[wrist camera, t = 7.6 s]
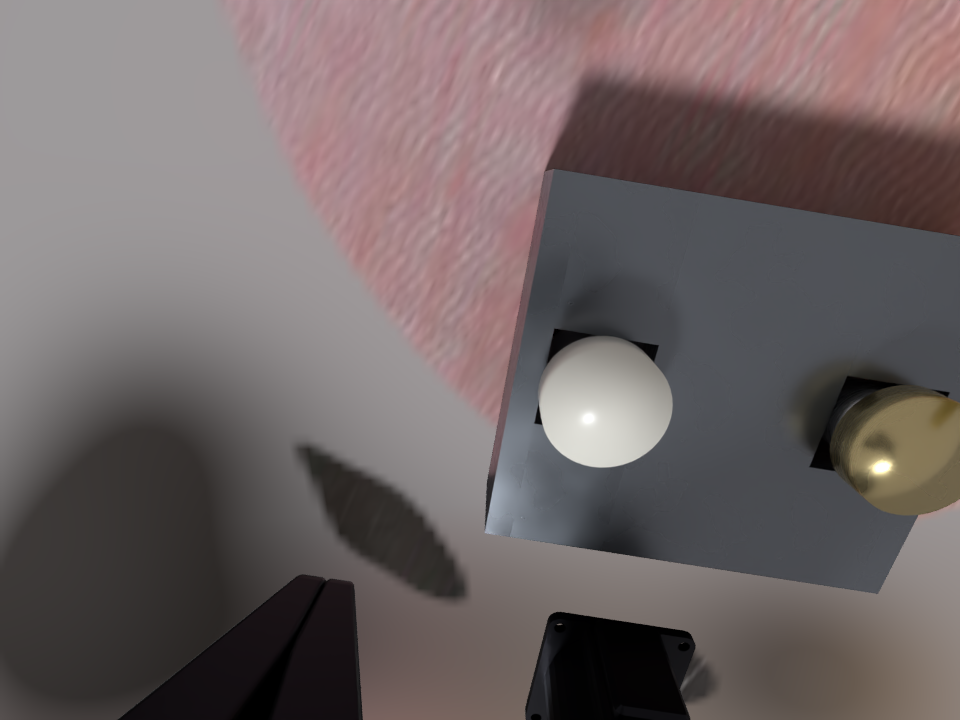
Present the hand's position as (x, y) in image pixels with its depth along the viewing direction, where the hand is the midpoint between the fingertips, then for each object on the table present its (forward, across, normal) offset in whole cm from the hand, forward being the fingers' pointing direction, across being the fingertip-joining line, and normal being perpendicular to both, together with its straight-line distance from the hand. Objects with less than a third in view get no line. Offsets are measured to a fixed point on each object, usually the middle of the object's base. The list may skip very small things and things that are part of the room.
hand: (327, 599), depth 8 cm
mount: (+12, -10, -1) cm, 16 cm away
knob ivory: (+12, -6, -1) cm, 13 cm away
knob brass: (+12, -14, -1) cm, 19 cm away
